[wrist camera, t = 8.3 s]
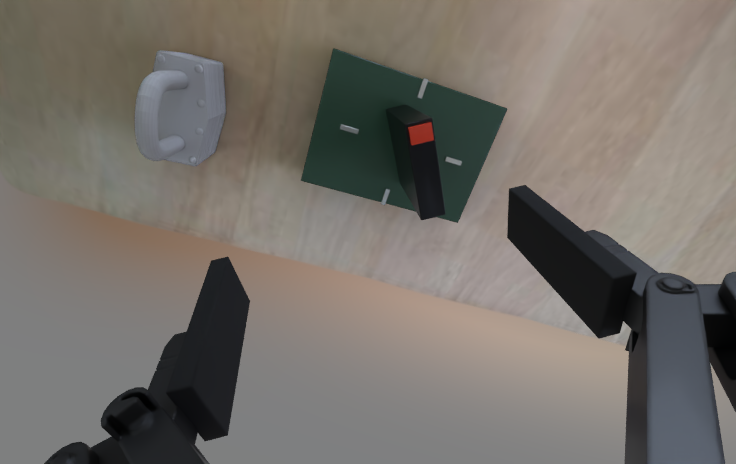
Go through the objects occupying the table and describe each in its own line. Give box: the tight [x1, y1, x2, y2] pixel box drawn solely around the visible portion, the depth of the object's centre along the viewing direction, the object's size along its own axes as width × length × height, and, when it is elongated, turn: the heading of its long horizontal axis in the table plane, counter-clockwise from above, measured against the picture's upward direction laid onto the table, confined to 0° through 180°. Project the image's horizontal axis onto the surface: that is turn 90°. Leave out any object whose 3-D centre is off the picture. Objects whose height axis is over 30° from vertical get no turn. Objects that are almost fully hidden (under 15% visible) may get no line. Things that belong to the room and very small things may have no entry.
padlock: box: [135, 51, 226, 166], centre depth 25 cm, size 7×4×10 cm, turn 166°
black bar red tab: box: [386, 104, 446, 220], centre depth 25 cm, size 6×2×8 cm, turn 12°
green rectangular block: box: [301, 49, 507, 223], centre depth 30 cm, size 14×10×3 cm
